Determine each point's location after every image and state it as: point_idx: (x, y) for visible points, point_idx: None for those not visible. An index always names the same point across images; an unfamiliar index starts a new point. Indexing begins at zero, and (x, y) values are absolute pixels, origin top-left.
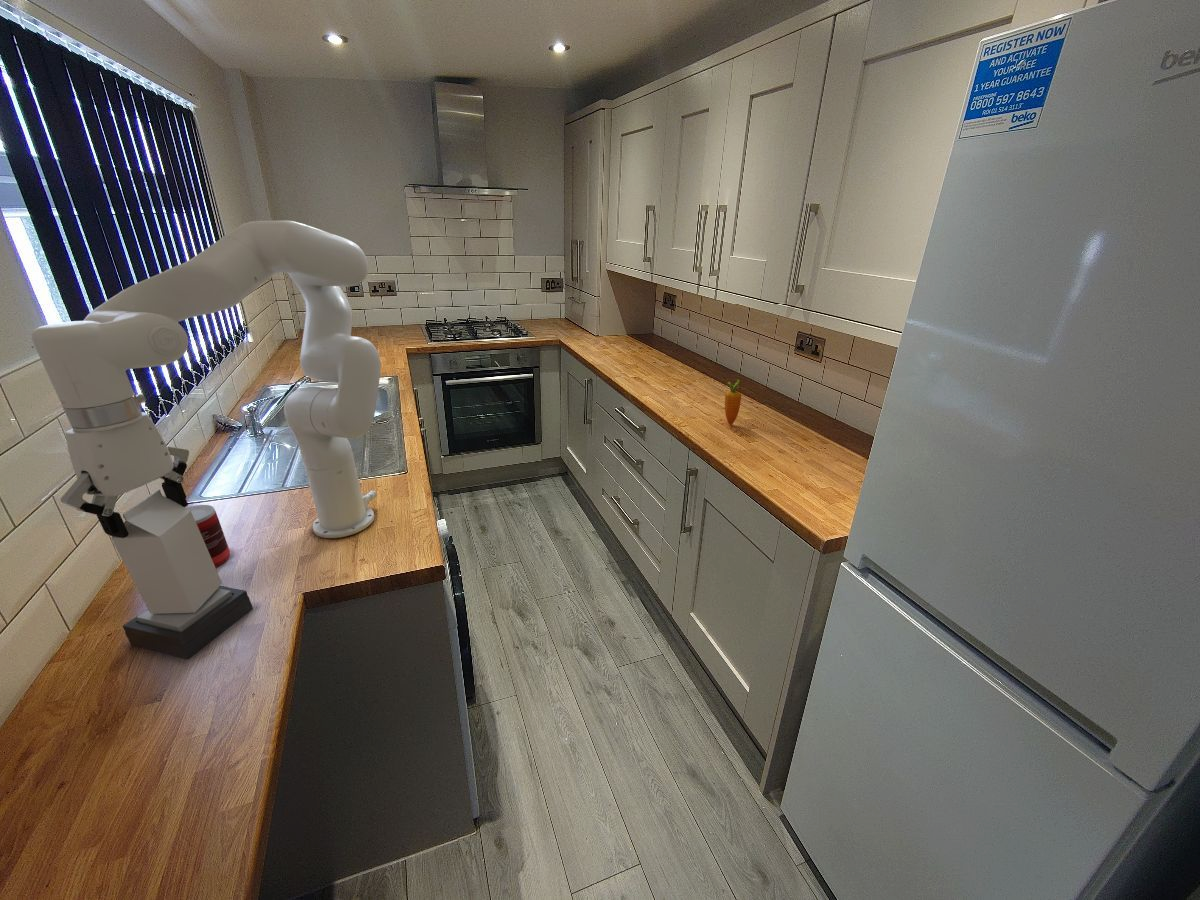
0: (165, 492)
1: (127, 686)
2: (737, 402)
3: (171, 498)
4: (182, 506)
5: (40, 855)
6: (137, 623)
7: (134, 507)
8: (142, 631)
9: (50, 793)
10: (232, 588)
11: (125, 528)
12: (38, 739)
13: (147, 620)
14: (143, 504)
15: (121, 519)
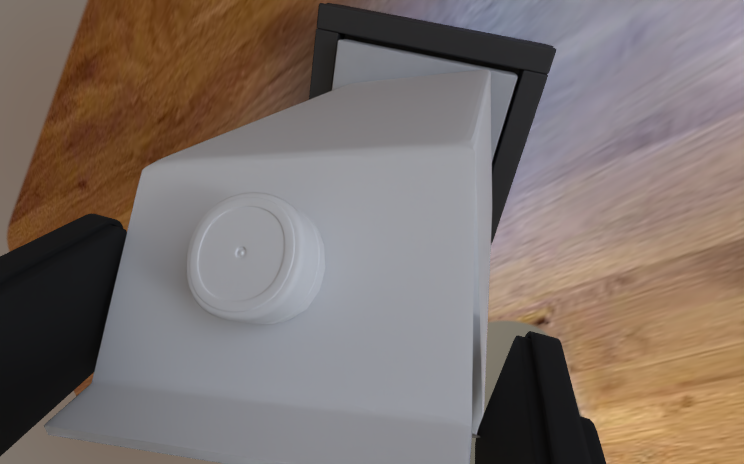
0: (527, 442)
1: (236, 120)
2: None
3: (507, 425)
4: (476, 437)
5: (31, 240)
6: (332, 47)
7: (142, 445)
8: (310, 89)
9: (70, 180)
10: (497, 218)
11: (94, 366)
12: (109, 57)
13: (332, 86)
14: (236, 438)
15: (32, 422)
